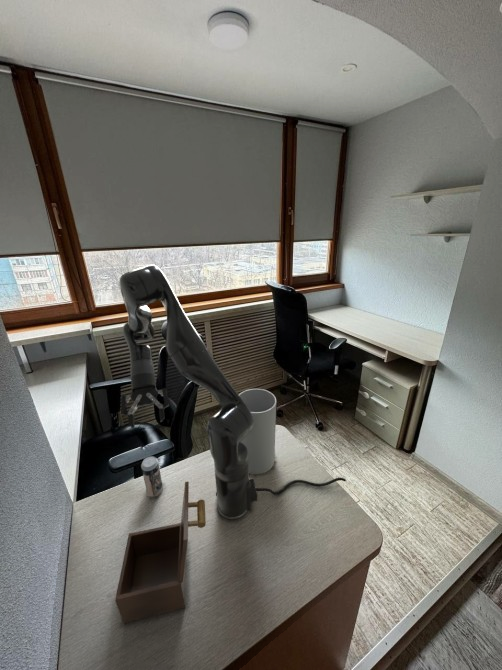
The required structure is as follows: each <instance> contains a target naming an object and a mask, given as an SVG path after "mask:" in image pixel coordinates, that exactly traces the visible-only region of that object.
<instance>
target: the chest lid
mask: <svg viewBox="0 0 502 670" xmlns="http://www.w3.org/2000/svg"><path fill="white" fill-rule="evenodd" d="M189 485H190V481H185V482H184V489H183V498H182V506H181V507H182V508H181V517H180V523H181V535H180V562H179V583H182V582H183V576H184V568H185V560H186V561H187V551H188V544H189V543H188V542H189V527H198V528H200V529H202V528H205V527H206V525H207V523H206V522H207V521H206V502H205V500H204V499H199V500H197V501H193V502H189V496H190V495H189V488H190V486H189ZM189 508H196V511H197V512H196V513H197V515H196V517H197V518H196V519H197V520H196V519H195V520H189Z"/></svg>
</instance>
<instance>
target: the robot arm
mask: <svg viewBox="0 0 502 670" xmlns="http://www.w3.org/2000/svg"><path fill="white" fill-rule="evenodd" d="M119 290H120V293H121V296H122V299H123V303H124V306H125V310H126V311H127V322H126V323H125V324H124V325H123V326H122V335H123V338H124V340H125V343H126V345H127V348H128V351H129V359H130V371H129V372H130V384H131V385H130V386H131V394H130V395H124V394H122V395H121V396H120V397H121V398H120V401H121V402H120V405H121V406H120V413H121V415H122V416H127V421H128V426H129V427H130V428H131V429H134V428H136V427H135V416H134V414H135V412H136V411H137V410H138V408H139V407H141V408H143V407H146V406H151V405H153V404H154V405H155V406H156V407H157V408H158V414H159V415H158V416H159V423H162V422H163V423H164V420H165V419H166V418H165V409H166V408H169V407H170V402H169V396H168V391H167V388H166V387H163V388H162V389H157V383H156V381H157V380H156V371H155V366H154V362H153V351H152V348H151V346H149V345H148V344H141V343H139V342H149V341H151V340H153V339H154V337H155V333H156V332H155V331H156V330H155V327H154V325H153V322H152V320H153V313H152V311H151V309H150V307H148V305H151V304H153V303H156V302H158V301H160V302H161V303H162V306H163V308H164V310H165V314H166V334H165V335H166V336H165V349H166V352H167V355H168V357H169V358H170V359H171V360H170V361H172V363H173V364H174V366H175V368H176V370H177V372H178V373H179V374H180V375H182V376H183V377H184V378H185V379H187V380H189V381H190V382H193V383H195V384H196V385H198V386H200V387H202V388H204V389H205V390H206V391H208V392H209V393H210V394H211V395H212V396H213V398H215V400H216V402H218V404H219V405H220V409H219V410H217V411H216V412H215V413H214V414H213V415H212V416H210V418H209V419H208V420H207V424H206V432H207V440H208V445H209V451H210V455H211V457H212V459H213V466H214V476H215V477H214V478H215V489H216V490H215V491H216V492H215V497H216V505H217V506H216V507H217V510H218V513H219V514H220V516H221V517H223V518H225V519H227V520H239V519H241V518H242V517H244V516H245V515H246V514H247V513H248V512H251V510H252V503H254V502H257V501H258V493H257V492H265V493H266V492H267V493H270V494H271V495H273V496H278V495H281V494H282V493H283V492H284V491H286V489H288V488H289V487H290V486H292V485H294V484H305V485H308V486H312V487H326V486H329V485H331V484H334V483H335V482H338V481H342V482H346V481H347V479H345V478H344V477H336V478H333V479H331V480H329V481H326V482H322V483H315V482H312V481H308V480H304V479H294V480H291V481H289V482H287V484H285V485H284V486H283V487H282V488H281V489H279V490H278V491H273V490H272V489H270V488H265V487H256V484H255V479H254V478H250V473H249V466H248V450H247V448H246V446H245V445H244V444H243V443H241V441H242V439H243V438H244V437H245V436H246V435H247V434H248V433H249V432H250V431H251V430H252V428H253V426H254V419H253V416H252V414H251V412H250V410H249V408H248V407H247V405H246V404H245V403H244V401H243V400H242V399H241V397H240V396H239V393H238V392H237V390H236V389H235V388H234V387H233V386H232V384H231V382H230V381H229V380H228V378H227V377H226V376H225V374H224V373H223V371H222V370H221V368H220V367H219V365H218V363H217V362H216V361H215V359H214V357H213V355H212V354H211V352H210V350H209V349H208V347H207V345H206V343H205V341H203V339H202V337H201V336H200V334H199V333H198V331H197V329H196V328H195V327H194V325H193V324H192V322H191V320H190V319H189V317H188V316H187V314H186V312H185V311H184V309H183V307H182V305H181V303H180V302H179V299H178V297H177V296H176V294H175V292H174V290H173V288H172V286H171V285H170V282H169V280H168V279H167V277H166V275H165V274H164V272H163V271H162V270H161V268H160V267H158V266H157V265H155V264H150V265H146V266H141V267H139V268H136V269H133V270H130V271H127V272H125V273H123V274H122V275H121V276H120V277H119ZM159 395H160V396H161V397H163V402H164V403H160V401H158V399H157V397H158V396H159ZM130 400H132V402H133V403H132V405H131V406H130V408H129V410H128V403H130Z"/></svg>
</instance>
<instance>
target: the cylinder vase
mask: <svg viewBox="0 0 502 670" xmlns="http://www.w3.org/2000/svg"><path fill="white" fill-rule="evenodd" d="M238 395H239V396H240V397H241V399H242V400H243V401H244V403H245V404H246V405H247V407H248V408H249V410H250V412H251V414H252V416H253V419H254V426H253V428H252V430H251V431H250V432H249V433H248V434H247V435H246V436H245V437H244V438H243V439H242V441H241V443H243V444H244V445H245V446H246V448H247V450H248V466H249V474H251V475H261V474H265V473H267V472H269V471H270V470H271V469H272V468H273V465H274V464H275V458H276V425H277V419H276V418H277V397H276V396H275V394H273V393H272V392H271V391H269V390H267V389H263V388H249V389H246V390H243V391H242V392H240V393H238Z"/></svg>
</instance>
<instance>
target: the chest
mask: <svg viewBox="0 0 502 670" xmlns="http://www.w3.org/2000/svg"><path fill="white" fill-rule="evenodd" d="M180 535H181V522H179V523H178V522H177V523H173V524H168V525H163V526H158V527H153V528H149V529H144V530H138V531H135V532H130V533H128V535H127V539H126V540H127V541H126V544H125V545H126V546H125V550H124V555H123V559H122V564H121V569H120V575H119V579H118V584H117V588H116V594H115V599H114V601H115V604H116V606H117V610H118V612H119V615H120V618H121V620H122V623H123V624H126V623H131V622H134V621H135V622H136V621H138V620H143V619H146V618H149V617H153V616H157V615H161V614H164V613H165V614H166V613H169V612H172V611H176V610H180V609H184V608H186V599H187V598H186V597H187V596H186V590H187V589H186V587H187V559H186V560H185V568H184V576H183V582H182V583H179V562H180Z"/></svg>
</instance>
